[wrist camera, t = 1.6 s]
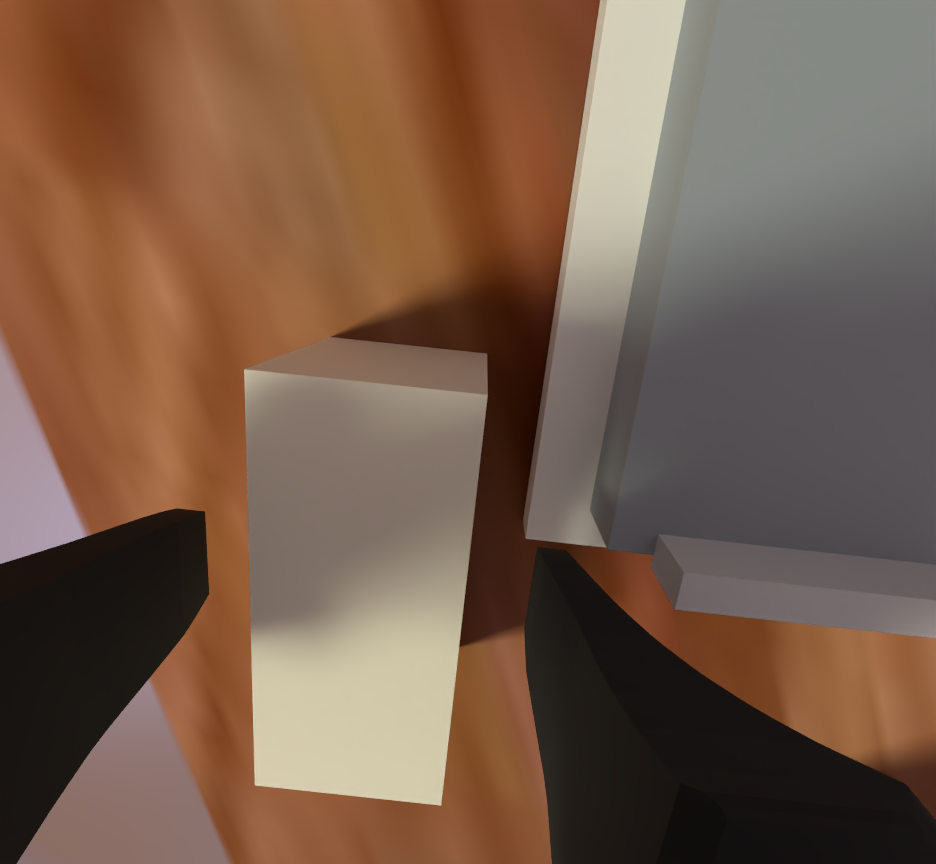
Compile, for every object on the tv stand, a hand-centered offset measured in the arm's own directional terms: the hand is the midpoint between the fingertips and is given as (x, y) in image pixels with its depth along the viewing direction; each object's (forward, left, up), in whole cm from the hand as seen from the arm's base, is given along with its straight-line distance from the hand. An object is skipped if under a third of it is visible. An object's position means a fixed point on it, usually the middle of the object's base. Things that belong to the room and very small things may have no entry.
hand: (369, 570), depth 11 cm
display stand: (+7, -9, -3) cm, 12 cm away
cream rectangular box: (0, 0, -4) cm, 4 cm away
